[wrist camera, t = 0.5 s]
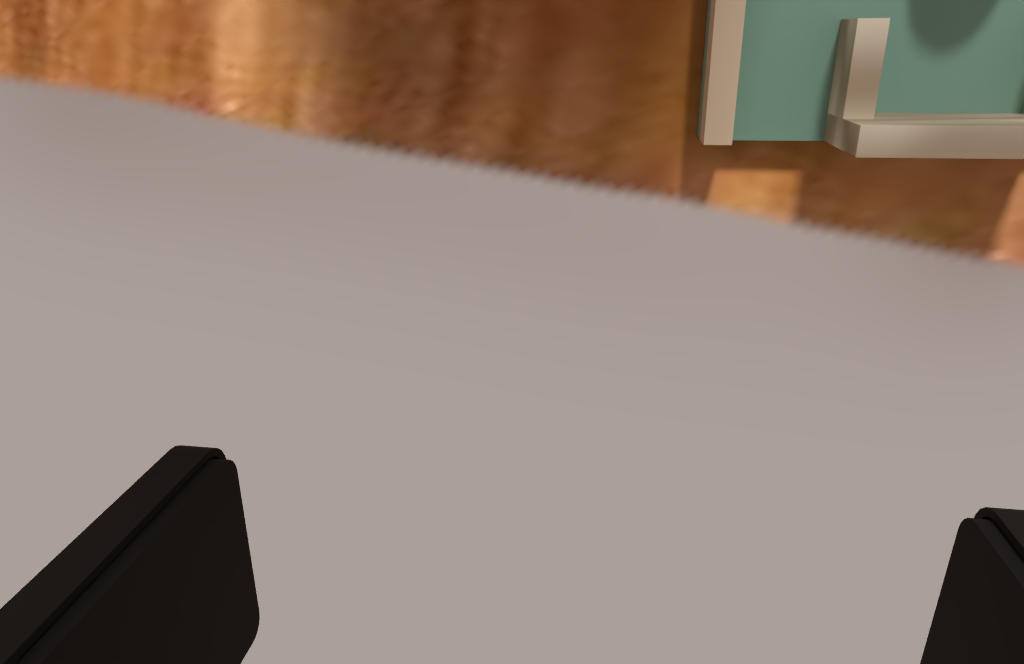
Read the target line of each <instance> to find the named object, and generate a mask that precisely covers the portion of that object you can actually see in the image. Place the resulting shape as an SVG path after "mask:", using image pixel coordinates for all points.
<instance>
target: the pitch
mask: <svg viewBox="0 0 1024 664" xmlns="http://www.w3.org/2000/svg"><path fill="white" fill-rule="evenodd" d="M854 18H890V24H889V30H888V36H887V42H886V48H885V54H884V60H883V66H882V72H881V78H880V84H879V90H878V96H877V102H876V108H875V113H1015V114H1023V113H1024V0H708V9H707V21H706V33H705V46H704V58H703V70H702V83H701V95H700V107H699V120H698V132H697V137H698V139H699V140H700V141H701V142H702V144H703V145H732V140H754V141H824V134H825V128H826V121H827V114H828V107H829V100H830V93H831V86H832V79H833V72H834V65H835V58H836V51H837V44H838V37H839V30H840V23H841V19H854Z"/></svg>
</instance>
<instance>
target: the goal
mask: <svg viewBox="0 0 1024 664" xmlns="http://www.w3.org/2000/svg"><path fill="white" fill-rule="evenodd" d="M889 24H890V18H854V19H841V23H840V30H839V37H838V44H837V51H836V58H835V65H834V72H833V79H832V86H831V93H830V100H829V107H828V114H827V121H826V128H825V134H824V141H825V142H827V143H828V144H830V145H832V146H834V147H836V148H838V149H840V150H842V151H844V152H846V153H848V154H850V155H852V156H854V157H858V158H964V159H1024V113H1023V114H1015V113H875V108H876V102H877V96H878V90H879V84H880V78H881V72H882V66H883V60H884V54H885V48H886V42H887V36H888V30H889Z"/></svg>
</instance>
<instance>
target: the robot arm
mask: <svg viewBox="0 0 1024 664" xmlns="http://www.w3.org/2000/svg"><path fill="white" fill-rule="evenodd" d="M258 626H259V607H258V601H257V594H256V588H255V582H254V575H253V569H252V562H251V556H250V550H249V544H248V537H247V531H246V524H245V518H244V511H243V505H242V498H241V492H240V486H239V479H238V473H237V468H236V465H235V464H234V462H233V461H231V460H226V457H225V455H224V454H223V452H222V450H220V449H218V448H208V447H195V446H182V445H181V446H175V447H173V448H172V449H170V450H169V451H168V452H167V453H166V454H165V455H164V456H163V457H162V458H161V459H160V460H159V461H158V462H156V463H155V464H154V465H153V466H152V467H151V468H150V469H149V470H148V471H147V472H146V473H145V474H144V475H143V476H142V477H141V478H140V479H138V480H137V481H136V482H135V483H134V484H133V485H132V486H131V487H130V488H129V489H128V490H127V491H126V492H124V494H122V495H121V496H120V497H119V498H118V499H117V500H116V501H115V502H114V503H113V504H112V505H111V506H110V507H109V508H107V509H106V510H105V511H104V512H103V513H102V514H101V515H100V516H99V517H98V518H97V519H96V520H95V521H94V522H93V523H91V524H90V525H89V526H88V527H87V528H86V529H85V530H84V531H83V532H82V533H81V534H80V535H79V536H78V537H77V538H75V539H74V540H73V541H72V542H71V543H70V544H69V545H68V546H67V547H66V548H65V549H64V550H63V551H62V552H61V553H60V554H58V556H56V557H55V558H54V559H53V560H52V561H51V562H50V563H49V564H48V565H47V566H46V567H45V568H44V569H42V570H41V571H40V572H39V573H38V574H37V575H36V576H35V577H34V578H33V579H32V580H31V581H30V582H29V583H28V584H27V585H26V586H25V587H23V588H22V589H21V590H20V591H19V592H18V593H17V594H16V595H15V596H14V597H13V598H12V599H11V600H9V601H8V602H7V603H6V604H5V605H4V606H3V607H2V608H1V609H0V664H241V662H242V660H243V658H244V657H245V655H246V653H247V652H248V650H249V648H250V647H251V645H252V643H253V641H254V639H255V637H256V634H257V631H258ZM920 664H1024V510H1014V509H1001V508H988V507H985V508H982V509H980V510H979V511H978V512H977V513H976V515H975V517H974V518H966V519H964V520H963V521H962V522H961V524H960V526H959V529H958V532H957V535H956V539H955V543H954V546H953V550H952V553H951V557H950V560H949V564H948V568H947V571H946V575H945V578H944V582H943V585H942V589H941V592H940V596H939V599H938V603H937V606H936V610H935V613H934V617H933V621H932V624H931V628H930V631H929V635H928V638H927V642H926V645H925V649H924V652H923V656H922V659H921V663H920Z"/></svg>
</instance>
